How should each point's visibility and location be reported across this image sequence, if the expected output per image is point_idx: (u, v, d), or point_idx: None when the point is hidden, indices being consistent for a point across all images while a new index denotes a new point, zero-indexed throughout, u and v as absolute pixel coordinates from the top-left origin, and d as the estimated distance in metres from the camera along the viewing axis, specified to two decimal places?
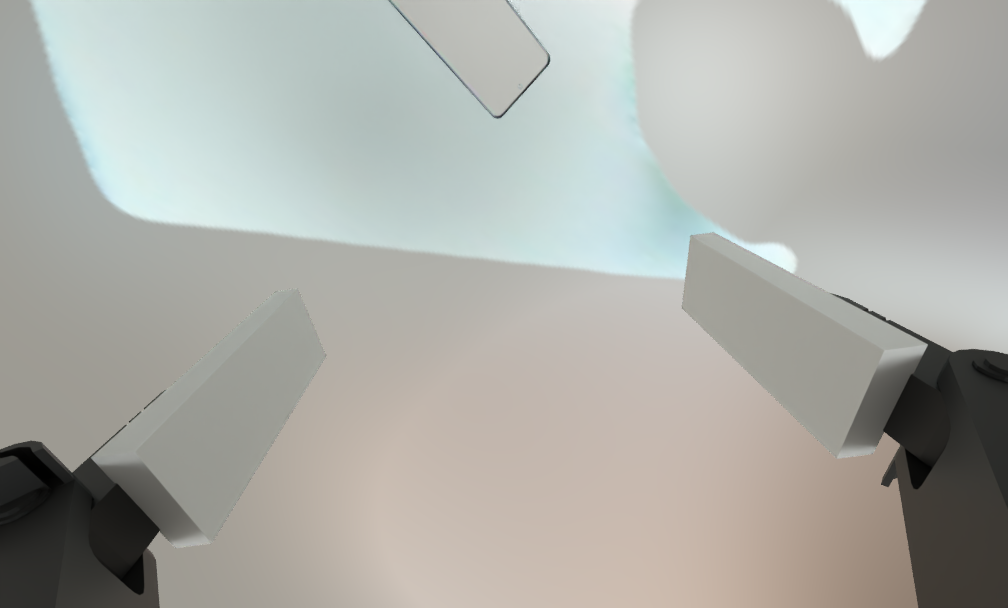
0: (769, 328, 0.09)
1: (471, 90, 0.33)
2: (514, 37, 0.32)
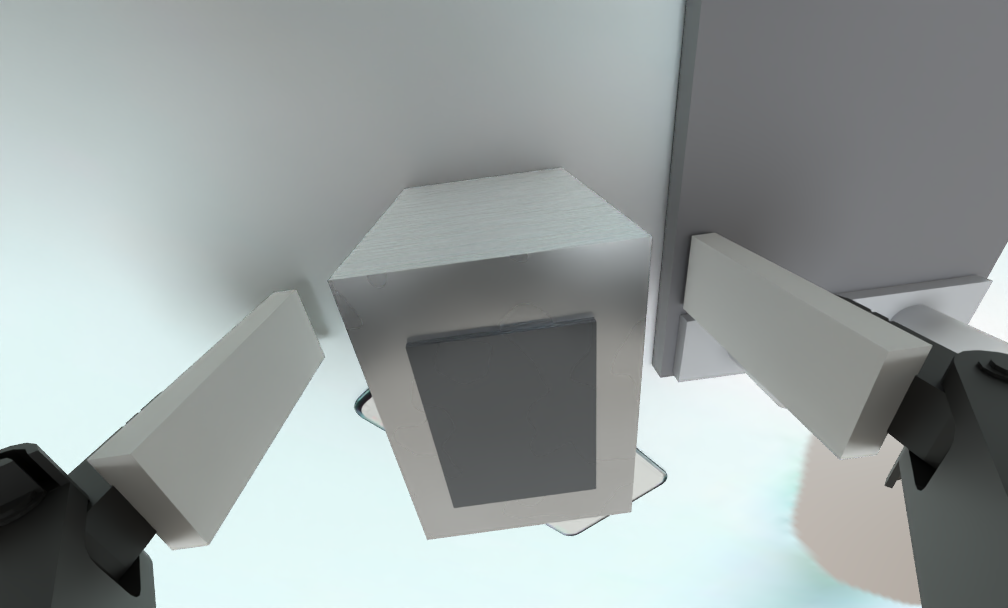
0: (771, 329, 0.09)
1: None
2: None
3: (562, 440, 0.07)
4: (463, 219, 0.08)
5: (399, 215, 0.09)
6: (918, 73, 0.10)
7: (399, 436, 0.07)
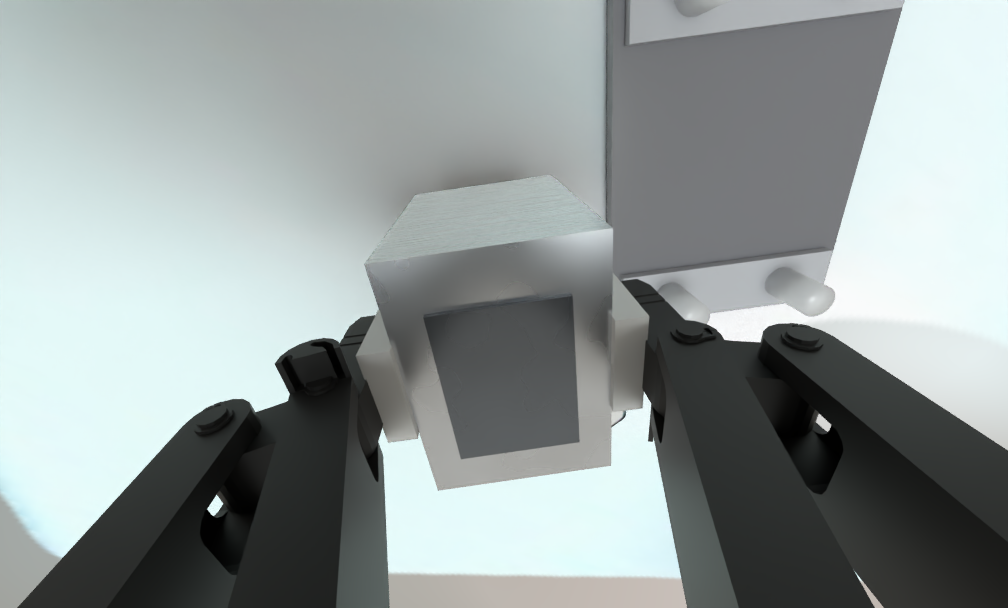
0: None
1: None
2: None
3: (549, 397, 0.09)
4: (468, 218, 0.10)
5: (413, 216, 0.10)
6: (753, 115, 0.17)
7: (416, 394, 0.09)
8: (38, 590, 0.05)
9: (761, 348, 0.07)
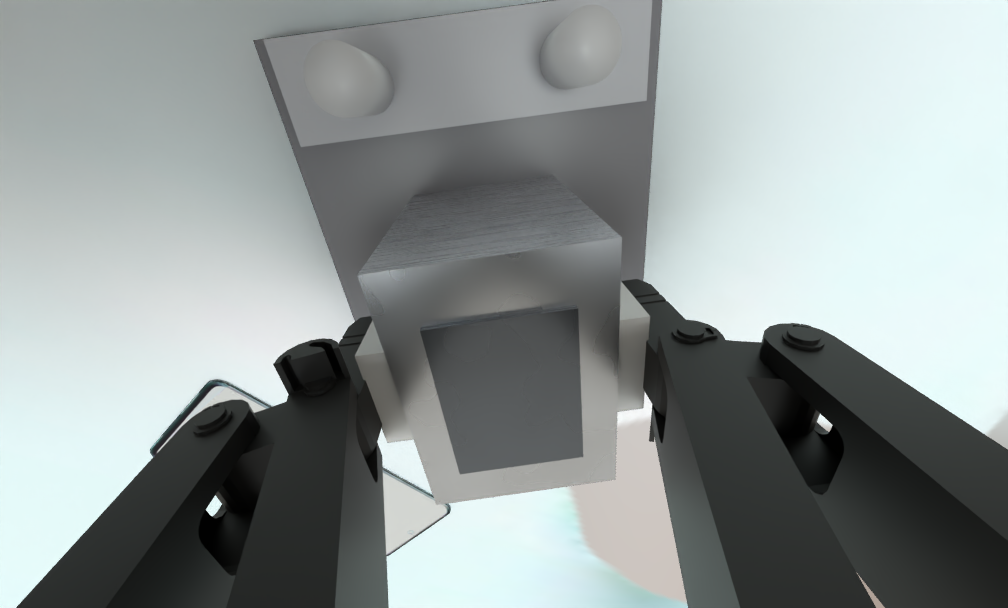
0: None
1: None
2: (394, 496, 0.22)
3: (552, 412, 0.09)
4: (467, 224, 0.09)
5: (410, 220, 0.10)
6: None
7: (413, 409, 0.09)
8: (35, 591, 0.05)
9: (762, 348, 0.07)
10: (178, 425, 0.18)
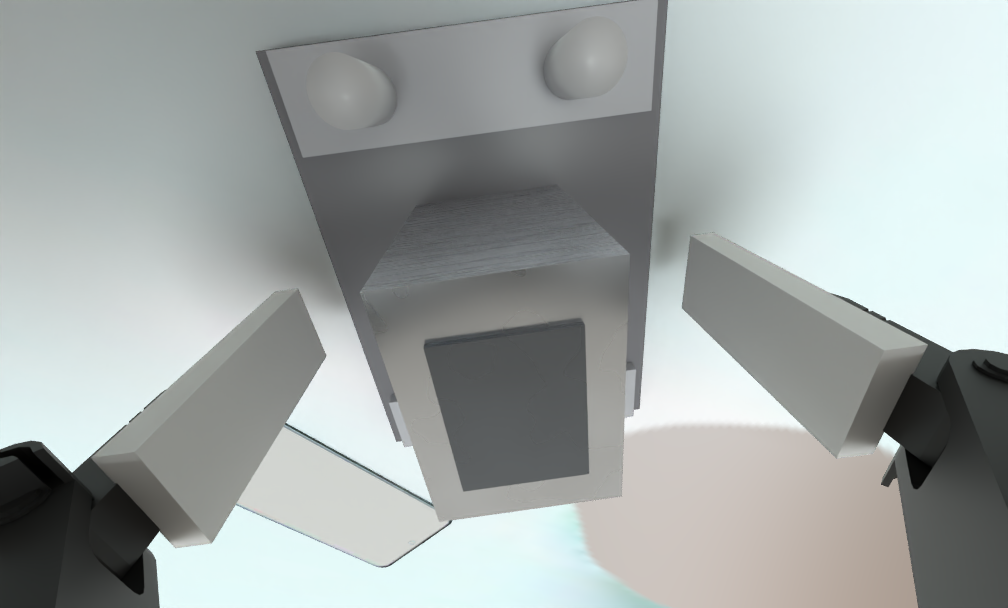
0: (769, 328, 0.09)
1: (339, 549, 0.23)
2: (395, 505, 0.21)
3: (557, 429, 0.09)
4: (471, 237, 0.09)
5: (413, 232, 0.10)
6: None
7: (416, 426, 0.08)
8: None
9: None
10: None
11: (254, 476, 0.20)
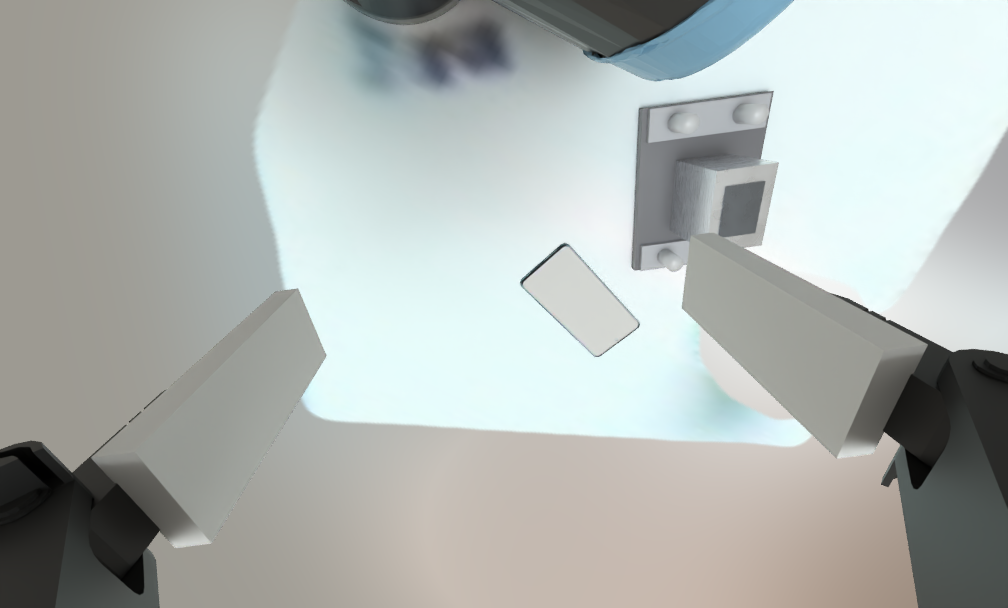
0: (769, 328, 0.09)
1: (580, 342, 0.46)
2: (616, 314, 0.45)
3: (751, 214, 0.32)
4: (724, 163, 0.32)
5: (699, 164, 0.33)
6: None
7: (714, 213, 0.31)
8: None
9: None
10: (540, 266, 0.41)
11: (561, 292, 0.43)
